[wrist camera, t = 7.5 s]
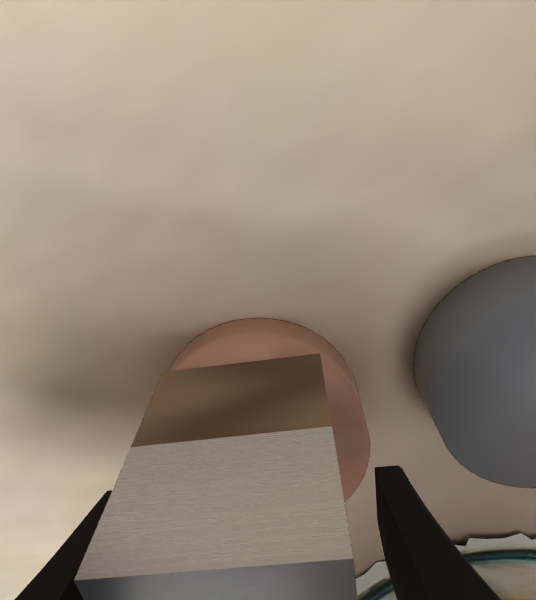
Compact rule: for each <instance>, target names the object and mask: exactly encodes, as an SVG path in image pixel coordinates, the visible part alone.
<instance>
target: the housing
mask: <svg viewBox="0 0 536 600" xmlns="http://www.w3.org/2000/svg"><path fill="white" fill-rule="evenodd" d="M74 582H75V584H76V586H77V588H78V590H79V592H80V593H81V595H82V597H83V599H84V600H358V596H357V587H356V578H355V568H354V559H353V553H352V547H351V541H350V534H349V528H348V522H347V516H346V510H345V504H344V498H343V491H342V485H341V479H340V473H339V467H338V461H337V454H336V448H335V442H334V436H333V430H332V424H331V418H330V411H329V405H328V399H327V393H326V387H325V381H324V375H323V368H322V362H321V356H320V353H318V354H310V355H302V356H293V357H285V358H276V359H269V360H260V361H252V362H243V363H235V364H226V365H218V366H209V367H200V368H192V369H183V370H175V371H166V372H163V373H162V376H161V378H160V380H159V383H158V385H157V387H156V390H155V392H154V394H153V397H152V399H151V401H150V404H149V406H148V408H147V411H146V413H145V415H144V418H143V420H142V423H141V425H140V427H139V430H138V432H137V434H136V437H135V439H134V441H133V444H132V446H131V448H130V451H129V453H128V455H127V458H126V460H125V462H124V465H123V467H122V469H121V472H120V474H119V476H118V479H117V481H116V483H115V486H114V488H113V490H112V493H111V495H110V497H109V500H108V502H107V504H106V507H105V509H104V511H103V514H102V516H101V518H100V521H99V523H98V525H97V528H96V530H95V532H94V535H93V537H92V539H91V542H90V544H89V546H88V549H87V551H86V553H85V556H84V558H83V560H82V563H81V565H80V567H79V570H78V572H77V574H76V577H75V579H74Z"/></svg>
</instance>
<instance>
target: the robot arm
mask: <svg viewBox="0 0 536 600" xmlns="http://www.w3.org/2000/svg"><path fill="white" fill-rule="evenodd" d="M375 483H376V501H377V519H378V526H379V531H380V536H381V541H382V546H383V551H384V556H385V560H386V565H387V568H388V571H389V575H390V578H391V581H392V585H393V588H394V591H395V595H396V598H397V600H501V598H500V597H499V596H498V595H497V594H496V593H495V592H494V591H493V590H492V589H491V588H490V586H489V585H488V584H487V583H486V582H485V581H484V580H483V579H482V577H481V576H480V575H479V574H478V573H477V572H476V570H475V569H474V568H473V567H472V566H471V564H470V563H469V562H468V561H467V560H466V558H465V557H464V556H463V555H462V554H461V552H460V551H459V550H458V549H457V547H456V546H455V545H454V544H453V542H452V541H451V540H450V538H449V537H448V536H447V534H446V533H445V532H444V531H443V529H442V528H441V527H440V525H439V524H438V523H437V521H436V520H435V519H434V517H433V516H432V514H431V513H430V512H429V510H428V509H427V507H426V506H425V504H424V503H423V501H422V500H421V499H420V497H419V496H418V494H417V492H416V491H415V489H414V488H413V486H412V485H411V483H410V481H409V480H408V478H407V476H406V475H405V473H404V471H403V469H402V468H401V467H399V466H386V467H375ZM111 493H112V491H107V492H106V493H105V494H104V495H103V497H102V498H101V499H100V500H99V501H98V503H97V504H96V505H95V506H94V507H93V509H92V510H91V511H90V512H89V513H88V515H87V516H86V517H85V518H84V520H83V521H82V522H81V523H80V525H79V526H78V527H77V528H76V529H75V531H74V532H73V533H72V534H71V536H70V537H69V538H68V539H67V540H66V542H65V543H64V544H63V545H62V546H61V547H60V549H59V550H58V551H57V552H56V553H55V555H54V556H53V557H52V558H51V559H50V561H49V562H48V563H47V564H46V565H45V566H44V568H43V569H42V570H41V571H40V572H39V573H38V574H37V575H36V577H35V578H34V579H33V580H32V581H31V582H30V583H29V584H28V585H27V587H26V588H25V589H24V590H23V591H22V592H21V593H20V594H19V595H18V597H17V598H16V599H15V600H84V599H83V597H82V595H81V593H80V592H79V590H78V588H77V586H76V584H75V582H74V579H75V577H76V574H77V572H78V570H79V567H80V565H81V563H82V560H83V558H84V556H85V553H86V551H87V549H88V546H89V544H90V542H91V539H92V537H93V535H94V532H95V530H96V528H97V525H98V523H99V521H100V518H101V516H102V514H103V511H104V509H105V507H106V504H107V502H108V500H109V497H110V495H111Z"/></svg>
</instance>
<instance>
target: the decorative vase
mask: <svg viewBox="0 0 536 600" xmlns="http://www.w3.org/2000/svg"><path fill="white" fill-rule="evenodd" d="M455 546H456V547H457V549H458V550H459V551H460V552H461V554H462V555H463V556H464V557H465V558H466V560H467V561H468V562H469V563H470V564H471V566H472V567H473V568H474V569H475V570H476V572H477V573H478V574H479V575H480V576H481V577H482V579H483V580H484V581H485V582H486V583H487V584H488V585H489V586H490V588H491V589H492V590H493V591H494V592H495V593H496V594H497V595H498V596H499V597H500V598H501V600H536V539H534V540H531V539H530V538H528V537H527V536H525V535H523V534H522V533H519V534H516V535H513V536H510V537H507V538H501V539H475V538H469V539H468V542H467V544H466V546H460V545H455ZM356 587H357V596H358V600H397V598H396V595H395V591H394V588H393V585H392V581H391V578H390V575H389V571H388V568H387V565H386V561H383V562H376V563H375V564H374V565H373V566H372V567H371V568H370V570H369V571H368V572H367V573H366V574H364V575H362V576H360V577H358V578H356Z"/></svg>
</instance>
